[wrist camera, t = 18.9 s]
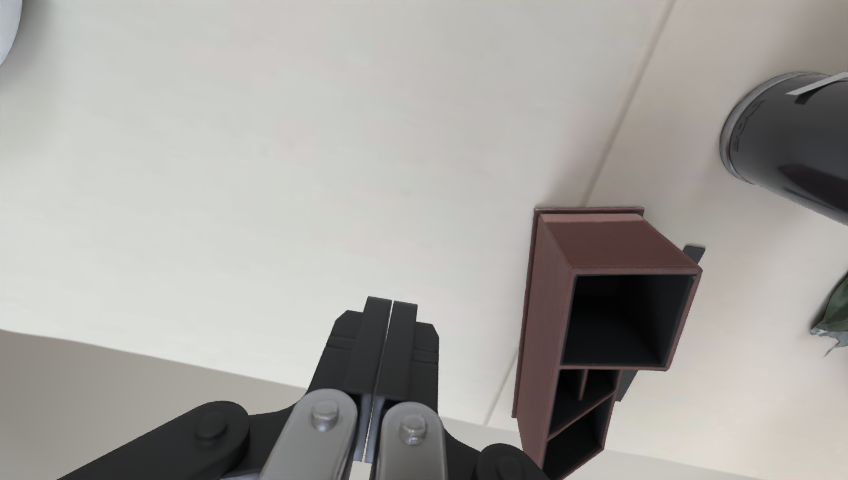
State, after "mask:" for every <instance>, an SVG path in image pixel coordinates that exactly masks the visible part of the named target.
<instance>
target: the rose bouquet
mask: <svg viewBox="0 0 848 480" xmlns="http://www.w3.org/2000/svg"><path fill="white" fill-rule="evenodd" d="M810 333H811V334H812V335H819V336H829V337H832V338H836V339H837V340H838V341H840V343H838V344H837V345H836V346H835V347H833V348H836V347H844V346H848V277H847V278H846V279H845V280H844V281H843V282H842V283H841V284H840V286H839V287H838V288H837V289H836V291H835V292H834V294H833V295H832V297H831V299H830V301H829V303H828V306H827V310H826V313H825V315H824V318H823V320H822V321H821V322H820V323H818V324H817V325H816V326H815V327H813V328H812V329H811V331H810ZM833 348H832V349H833ZM832 349H831V350H832ZM831 350H830V351H831ZM830 351H828V353H829V352H830ZM828 353H827V354H828ZM827 354H826V355H827ZM826 355H825V356H826ZM785 359H786V358H785Z"/></svg>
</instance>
